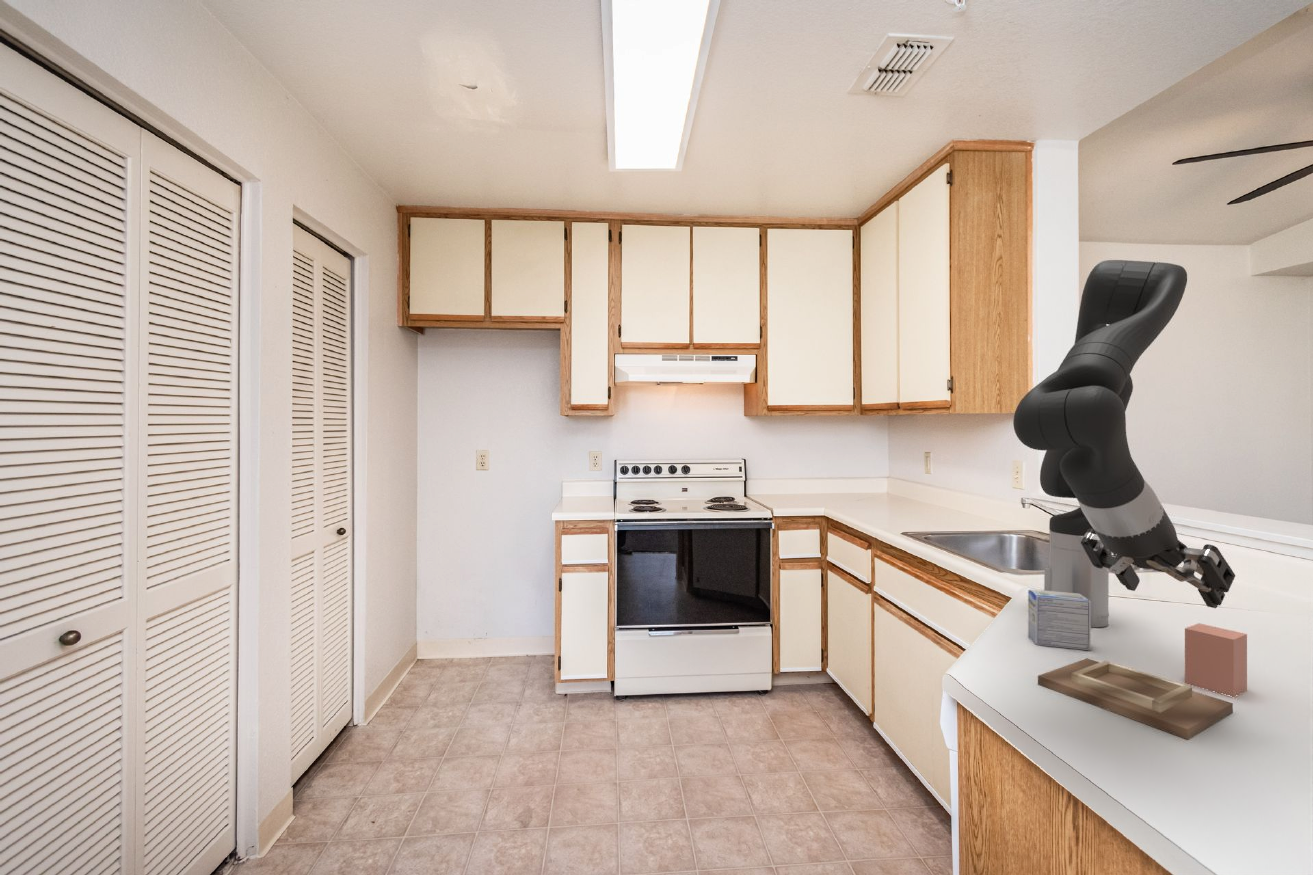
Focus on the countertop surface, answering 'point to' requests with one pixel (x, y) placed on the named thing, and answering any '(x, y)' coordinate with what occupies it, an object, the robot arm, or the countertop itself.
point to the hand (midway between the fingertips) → (1172, 593)
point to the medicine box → (1059, 619)
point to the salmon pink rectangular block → (1216, 659)
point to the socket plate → (1138, 696)
